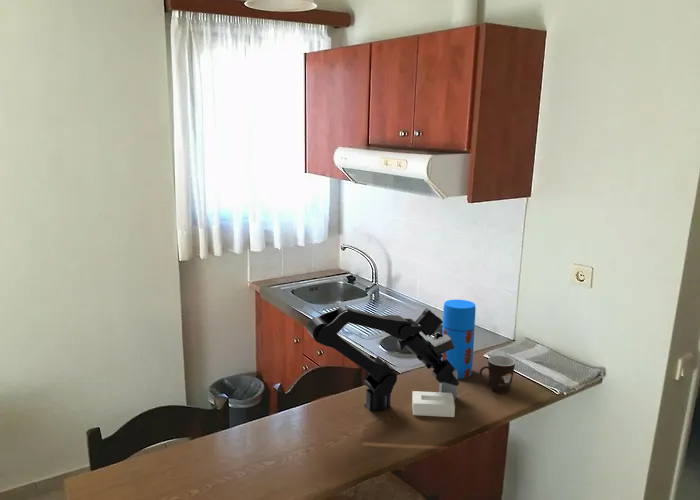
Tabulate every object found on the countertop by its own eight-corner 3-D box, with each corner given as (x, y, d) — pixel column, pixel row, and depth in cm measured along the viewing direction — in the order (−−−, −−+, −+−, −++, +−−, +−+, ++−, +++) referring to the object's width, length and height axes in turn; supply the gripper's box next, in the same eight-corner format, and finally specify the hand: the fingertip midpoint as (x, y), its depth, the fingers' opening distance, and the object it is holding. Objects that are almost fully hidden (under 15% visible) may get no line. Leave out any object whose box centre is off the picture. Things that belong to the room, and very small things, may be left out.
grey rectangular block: (441, 402, 175) (442, 372, 173) (438, 399, 176) (440, 370, 175) (456, 401, 176) (457, 371, 174) (453, 398, 177) (455, 368, 176)
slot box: (412, 417, 165) (413, 403, 164) (412, 404, 173) (412, 391, 172) (454, 419, 164) (454, 405, 163) (451, 406, 172) (452, 392, 171)
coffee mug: (510, 384, 188) (512, 356, 186) (515, 396, 180) (517, 366, 178) (475, 382, 189) (477, 354, 187) (478, 394, 181) (480, 364, 179)
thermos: (434, 369, 200) (437, 301, 195) (459, 364, 204) (463, 298, 199) (452, 380, 190) (456, 310, 185) (478, 375, 195) (482, 306, 190)
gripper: (449, 338, 162) (483, 372, 166) (428, 318, 180) (459, 349, 184) (422, 366, 162) (456, 399, 166) (404, 343, 180) (435, 373, 184)
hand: (452, 378), depth 175 cm, fingers open, 8 cm apart
